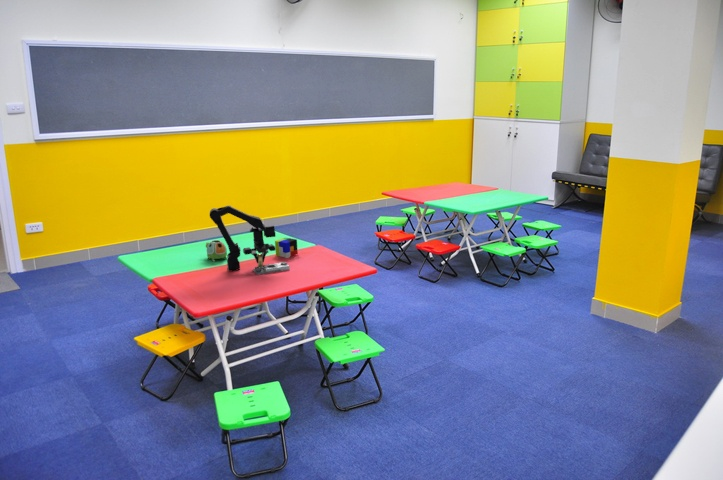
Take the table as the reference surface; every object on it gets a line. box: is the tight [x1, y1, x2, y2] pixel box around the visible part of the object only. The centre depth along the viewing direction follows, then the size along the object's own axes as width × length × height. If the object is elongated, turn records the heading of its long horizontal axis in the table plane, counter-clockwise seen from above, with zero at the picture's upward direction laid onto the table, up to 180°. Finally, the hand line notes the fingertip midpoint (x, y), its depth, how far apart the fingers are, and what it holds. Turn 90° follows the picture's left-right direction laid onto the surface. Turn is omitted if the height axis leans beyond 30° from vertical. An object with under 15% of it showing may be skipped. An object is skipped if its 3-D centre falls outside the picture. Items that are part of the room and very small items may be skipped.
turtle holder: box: [205, 239, 228, 262], centre depth 369 cm, size 12×18×12 cm
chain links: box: [252, 261, 290, 276], centre depth 342 cm, size 20×9×3 cm, turn 114°
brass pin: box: [257, 253, 264, 267], centre depth 349 cm, size 3×3×8 cm
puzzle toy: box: [274, 237, 298, 259], centre depth 372 cm, size 10×10×10 cm
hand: (260, 262), depth 349 cm, fingers closed on brass pin, 3 cm apart
